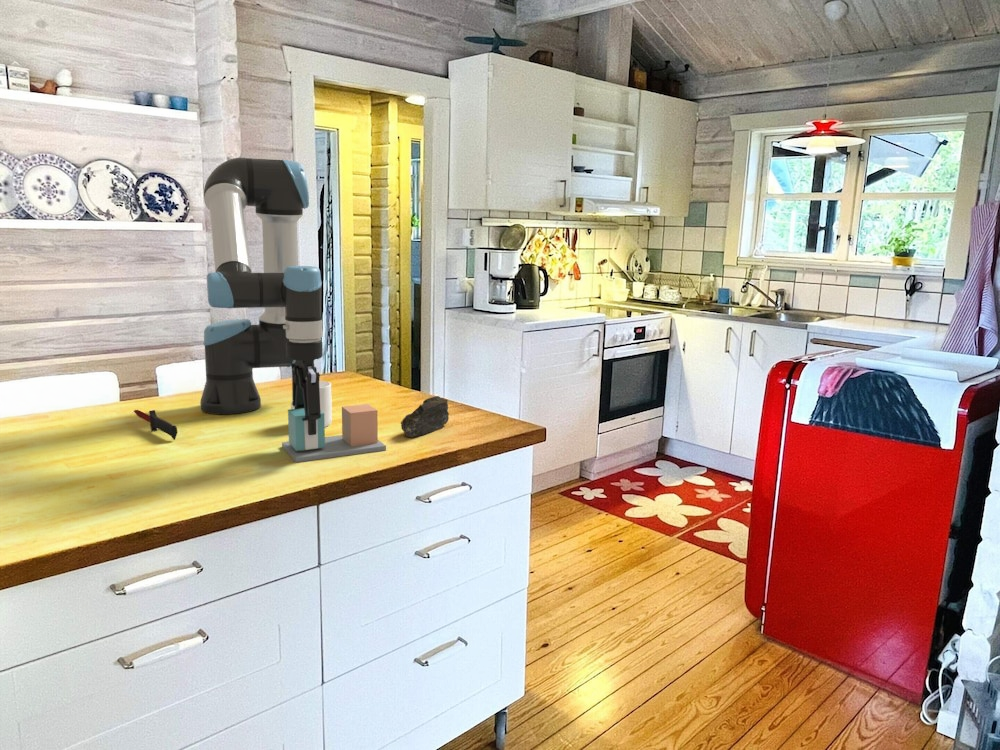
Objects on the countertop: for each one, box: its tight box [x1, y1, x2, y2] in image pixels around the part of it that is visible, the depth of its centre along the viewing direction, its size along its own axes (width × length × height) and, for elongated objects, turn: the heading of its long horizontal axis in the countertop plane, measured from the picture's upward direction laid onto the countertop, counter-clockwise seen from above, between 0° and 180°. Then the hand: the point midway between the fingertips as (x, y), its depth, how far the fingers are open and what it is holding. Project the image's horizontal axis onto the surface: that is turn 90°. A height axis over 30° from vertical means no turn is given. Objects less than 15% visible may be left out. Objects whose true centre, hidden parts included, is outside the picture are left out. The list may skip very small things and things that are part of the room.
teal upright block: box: [287, 408, 326, 451], centre depth 155 cm, size 6×6×8 cm
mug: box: [290, 380, 333, 428], centre depth 175 cm, size 12×8×10 cm
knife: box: [133, 409, 178, 441], centre depth 168 cm, size 24×2×5 cm, turn 47°
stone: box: [400, 395, 450, 438], centre depth 174 cm, size 7×8×15 cm
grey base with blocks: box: [281, 403, 387, 463], centre depth 158 cm, size 12×20×9 cm, turn 120°
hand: (307, 443), depth 156 cm, fingers closed on teal upright block, 6 cm apart
